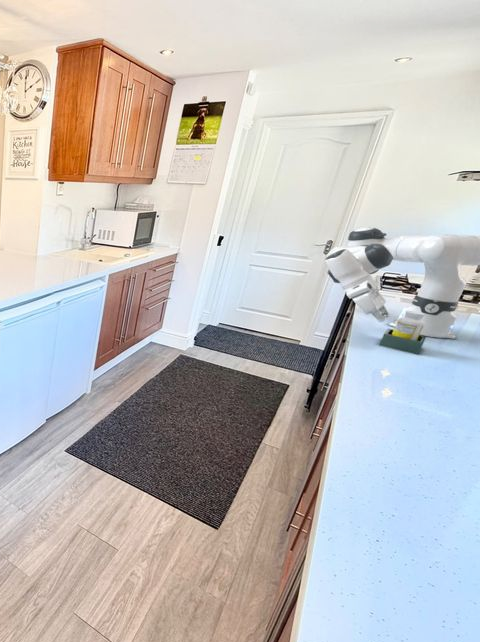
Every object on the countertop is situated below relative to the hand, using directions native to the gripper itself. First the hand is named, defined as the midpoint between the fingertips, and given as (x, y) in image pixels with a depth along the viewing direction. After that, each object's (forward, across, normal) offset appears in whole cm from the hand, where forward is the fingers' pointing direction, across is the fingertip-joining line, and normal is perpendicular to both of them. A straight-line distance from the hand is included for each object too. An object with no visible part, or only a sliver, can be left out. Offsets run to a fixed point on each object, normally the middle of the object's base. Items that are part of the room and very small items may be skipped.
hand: (385, 319), depth 150 cm
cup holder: (+11, 0, -2) cm, 11 cm away
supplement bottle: (+11, 0, -1) cm, 11 cm away
